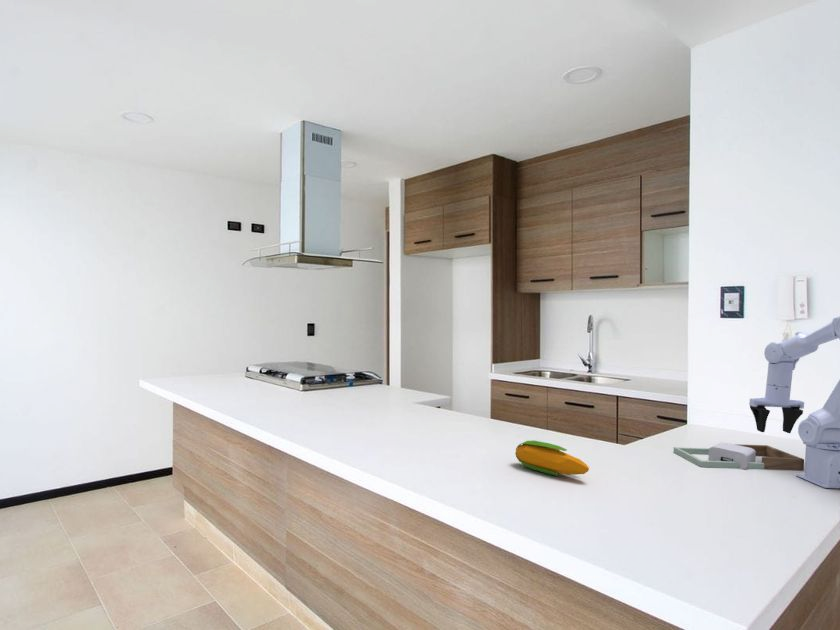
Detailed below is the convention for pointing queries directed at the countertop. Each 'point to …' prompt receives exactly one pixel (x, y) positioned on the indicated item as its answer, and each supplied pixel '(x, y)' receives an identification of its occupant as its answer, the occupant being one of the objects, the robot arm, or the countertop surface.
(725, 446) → the charger
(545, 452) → the corn
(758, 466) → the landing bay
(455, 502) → the countertop surface
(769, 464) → the brown wooden u-shaped frame
